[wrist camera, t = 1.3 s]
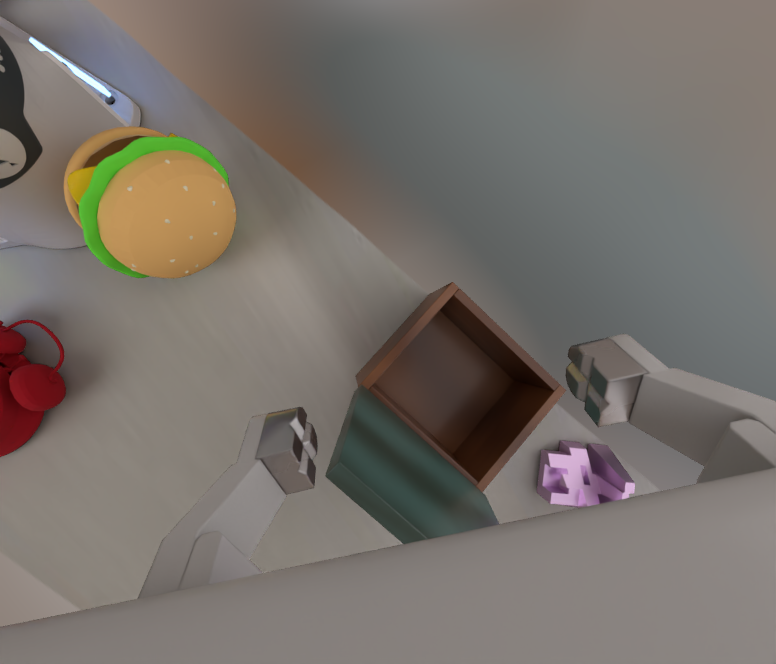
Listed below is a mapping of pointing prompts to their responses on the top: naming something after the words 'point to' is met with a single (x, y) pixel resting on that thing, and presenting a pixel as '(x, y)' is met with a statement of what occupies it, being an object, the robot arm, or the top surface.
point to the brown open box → (461, 384)
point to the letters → (582, 476)
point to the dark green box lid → (402, 476)
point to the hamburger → (150, 202)
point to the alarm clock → (24, 389)
